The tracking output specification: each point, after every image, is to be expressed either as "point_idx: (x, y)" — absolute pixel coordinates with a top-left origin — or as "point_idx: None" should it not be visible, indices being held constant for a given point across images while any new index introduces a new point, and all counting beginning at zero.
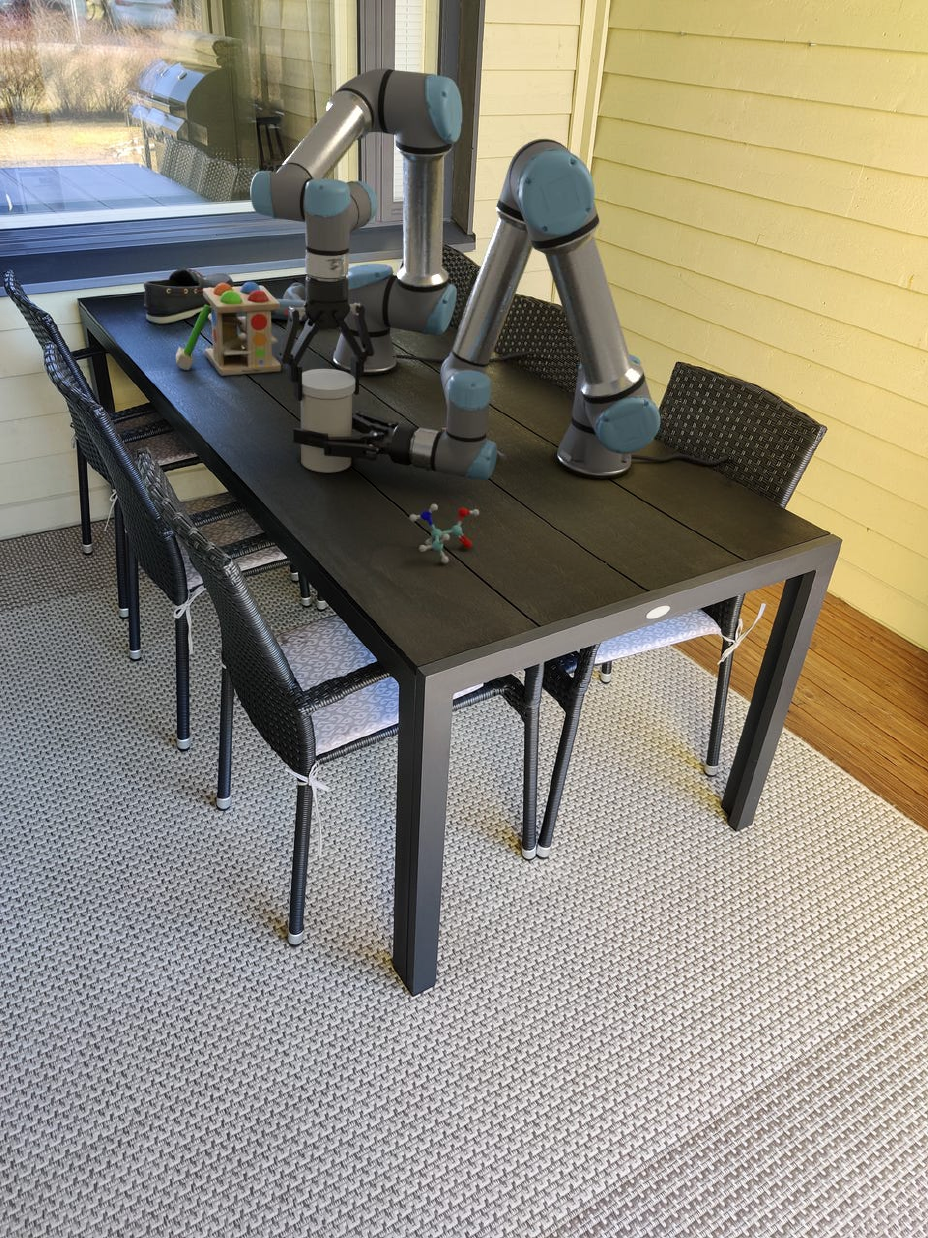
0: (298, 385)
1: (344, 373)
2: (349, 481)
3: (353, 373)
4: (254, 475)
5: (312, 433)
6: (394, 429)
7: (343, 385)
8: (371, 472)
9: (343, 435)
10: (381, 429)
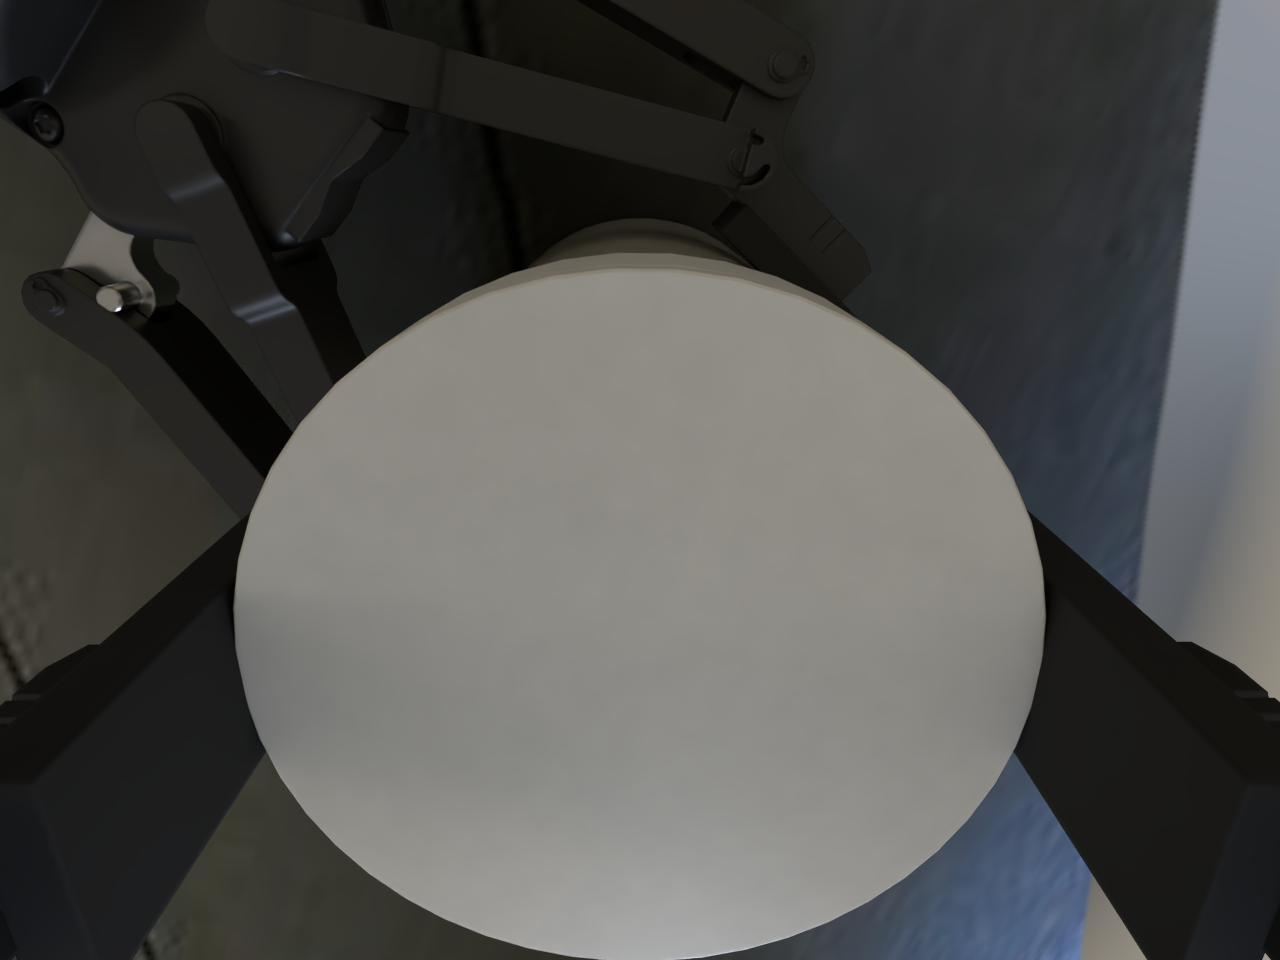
0: (1106, 581)
1: (337, 788)
2: (598, 54)
3: (214, 693)
4: (1100, 321)
5: (830, 292)
6: (88, 180)
7: (477, 397)
8: (417, 142)
9: (563, 250)
10: (210, 149)
